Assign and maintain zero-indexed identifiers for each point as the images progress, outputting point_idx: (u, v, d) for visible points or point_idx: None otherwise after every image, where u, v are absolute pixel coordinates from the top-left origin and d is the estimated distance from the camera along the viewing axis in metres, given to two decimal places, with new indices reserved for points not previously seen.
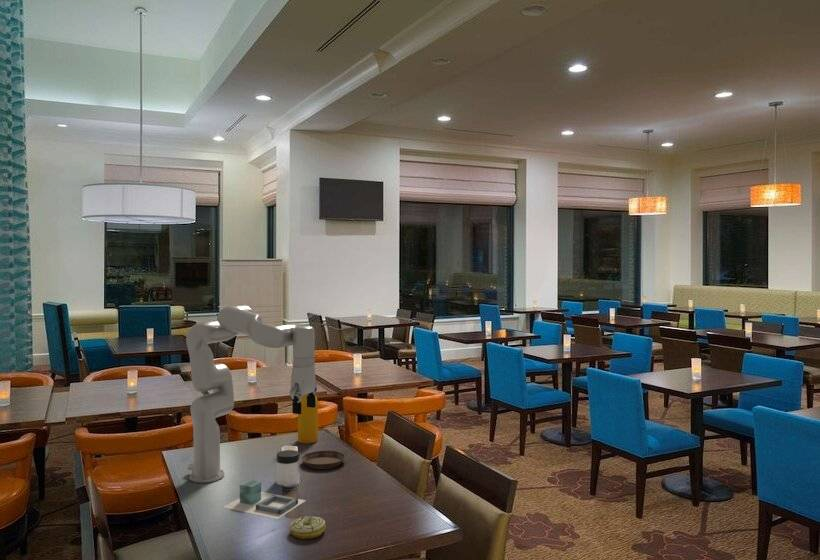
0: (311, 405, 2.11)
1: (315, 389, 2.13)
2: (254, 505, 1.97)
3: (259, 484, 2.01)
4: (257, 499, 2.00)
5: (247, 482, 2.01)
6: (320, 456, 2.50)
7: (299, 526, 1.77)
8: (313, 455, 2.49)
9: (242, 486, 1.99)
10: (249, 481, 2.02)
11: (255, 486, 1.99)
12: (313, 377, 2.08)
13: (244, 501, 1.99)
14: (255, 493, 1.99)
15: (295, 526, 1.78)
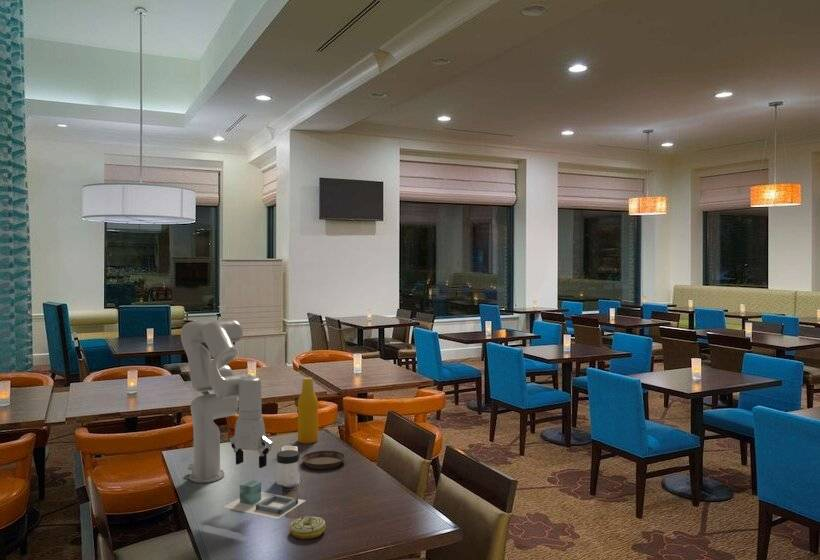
0: (241, 460, 2.02)
1: None
2: (254, 505, 1.97)
3: (259, 484, 2.01)
4: (257, 499, 2.00)
5: (247, 482, 2.01)
6: (320, 456, 2.50)
7: (299, 526, 1.77)
8: (313, 455, 2.49)
9: (242, 486, 1.99)
10: (249, 481, 2.02)
11: (255, 486, 1.99)
12: None
13: (244, 501, 1.99)
14: (255, 493, 1.99)
15: (295, 526, 1.78)
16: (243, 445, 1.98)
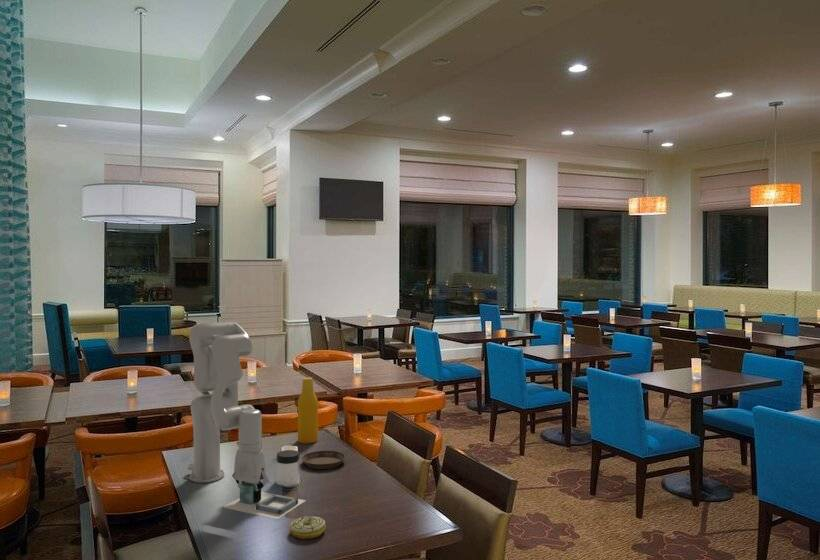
0: None
1: None
2: (254, 505, 1.97)
3: None
4: None
5: (247, 482, 2.01)
6: (320, 456, 2.50)
7: (299, 526, 1.77)
8: (313, 455, 2.49)
9: (242, 486, 1.99)
10: None
11: None
12: None
13: (244, 501, 1.99)
14: None
15: (295, 526, 1.78)
16: (242, 477, 1.98)
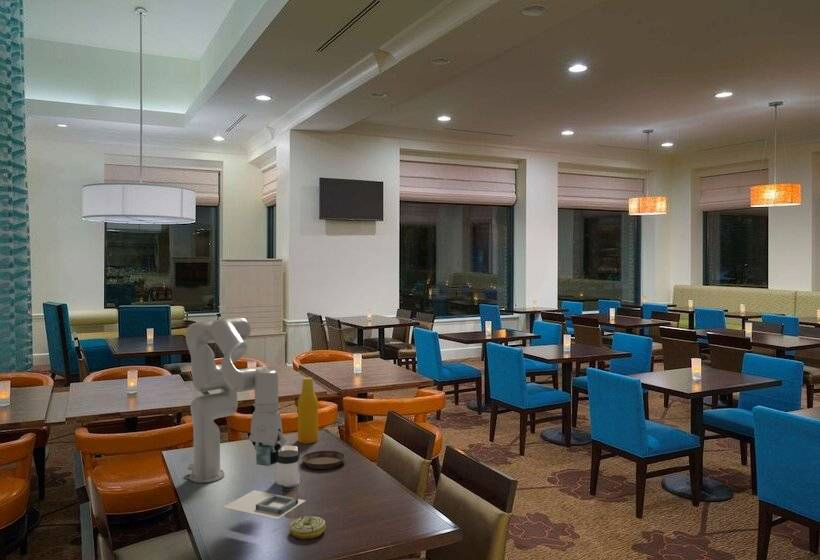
0: None
1: None
2: (254, 505, 1.97)
3: None
4: None
5: (264, 444, 1.98)
6: (320, 456, 2.50)
7: (299, 526, 1.77)
8: (313, 455, 2.49)
9: (259, 447, 1.95)
10: None
11: None
12: None
13: (261, 463, 1.95)
14: None
15: (295, 526, 1.78)
16: (259, 439, 1.95)
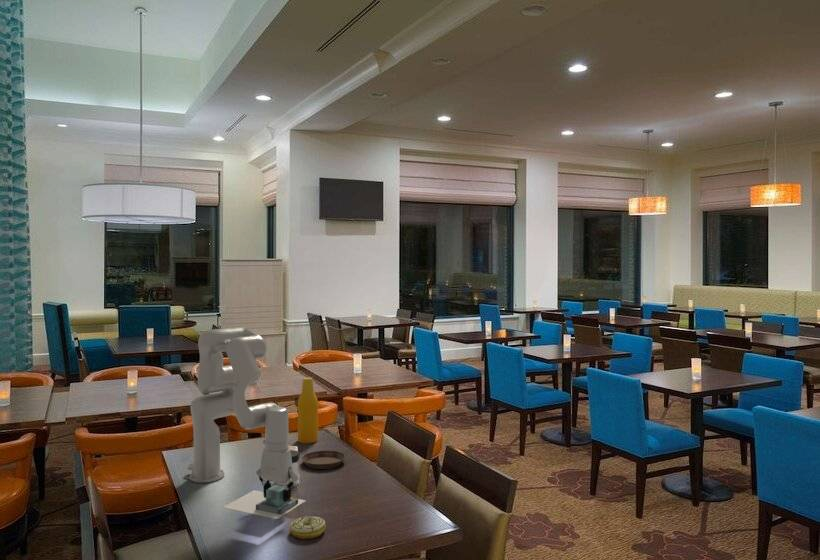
0: None
1: None
2: (254, 505, 1.97)
3: None
4: (284, 504, 1.96)
5: (273, 487, 1.97)
6: (320, 456, 2.50)
7: (299, 526, 1.77)
8: (313, 455, 2.49)
9: (269, 491, 1.94)
10: (275, 486, 1.98)
11: (282, 491, 1.95)
12: None
13: None
14: (282, 499, 1.95)
15: (295, 526, 1.78)
16: (269, 477, 1.94)
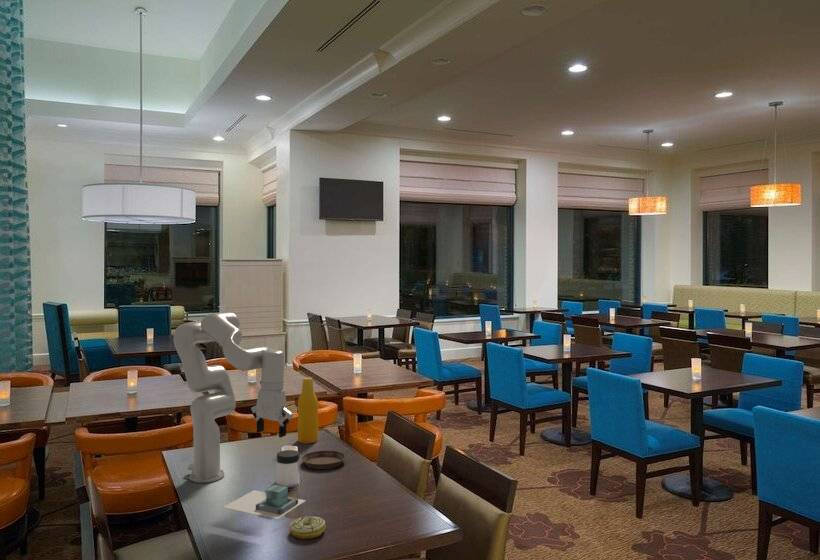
0: (261, 429, 2.09)
1: None
2: (254, 505, 1.97)
3: (286, 489, 1.97)
4: (284, 504, 1.96)
5: (273, 487, 1.97)
6: (320, 456, 2.50)
7: (299, 526, 1.77)
8: (313, 455, 2.49)
9: (269, 491, 1.94)
10: (275, 486, 1.98)
11: (282, 491, 1.95)
12: None
13: None
14: (282, 499, 1.95)
15: (295, 526, 1.78)
16: (264, 415, 2.05)
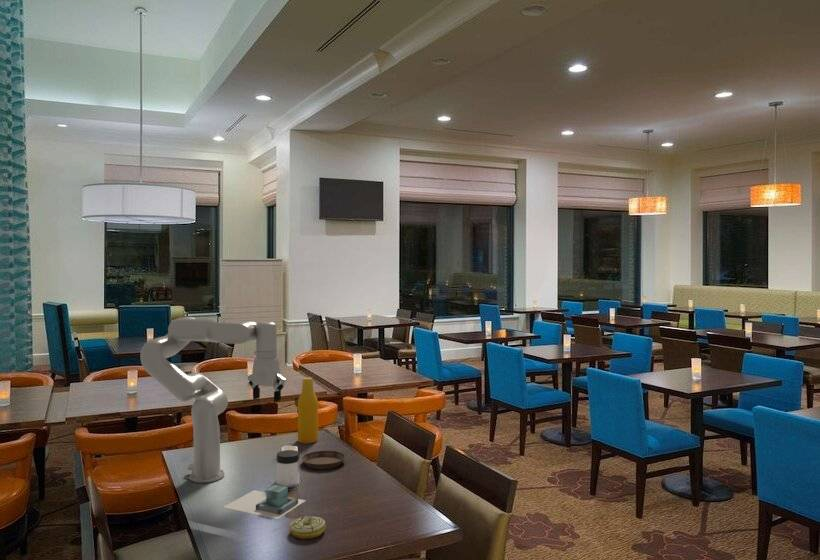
0: (257, 396, 2.26)
1: None
2: (254, 505, 1.97)
3: (286, 489, 1.97)
4: (284, 504, 1.96)
5: (273, 487, 1.97)
6: (320, 456, 2.50)
7: (299, 526, 1.77)
8: (313, 456, 2.49)
9: (269, 491, 1.94)
10: (275, 486, 1.98)
11: (282, 491, 1.95)
12: None
13: None
14: (282, 499, 1.95)
15: (294, 526, 1.78)
16: (260, 382, 2.21)
